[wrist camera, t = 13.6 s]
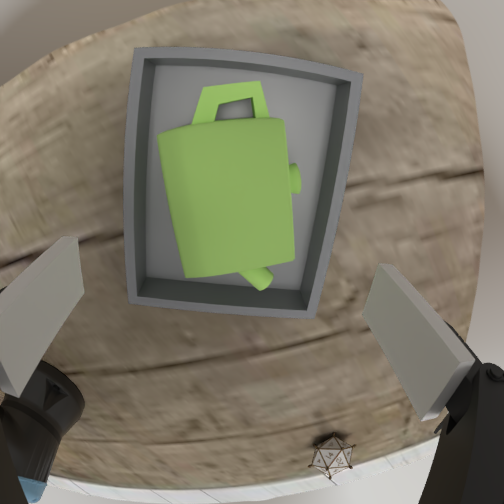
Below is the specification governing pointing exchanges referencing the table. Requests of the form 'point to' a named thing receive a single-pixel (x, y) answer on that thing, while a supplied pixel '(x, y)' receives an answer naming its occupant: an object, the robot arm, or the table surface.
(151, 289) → the gray tray
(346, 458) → the game die
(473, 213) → the table surface
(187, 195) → the green handled block
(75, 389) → the robot arm
